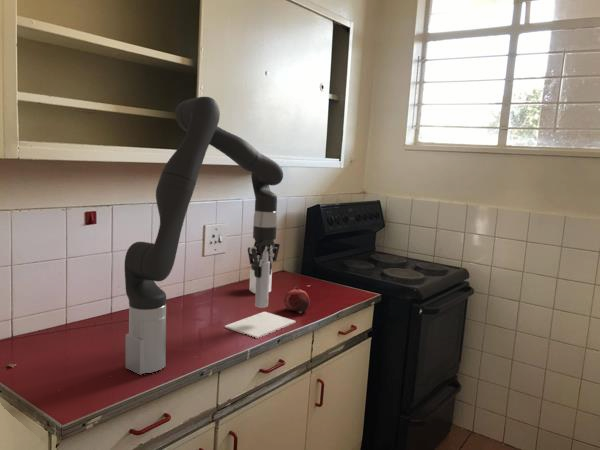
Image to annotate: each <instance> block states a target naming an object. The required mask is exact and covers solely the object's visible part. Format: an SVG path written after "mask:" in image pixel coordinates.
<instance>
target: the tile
mask: <svg viewBox="0 0 600 450" xmlns="http://www.w3.org/2000/svg"><path fill="white" fill-rule="evenodd" d="M295 323H297V321H296V320H294V319H291V318H287V317H284V316H281V315H277V314H274V313H271V312H267V311H262V312H259V313H256V314H253V315H252V316H248V317H245V318H242V319H240V320H237V321H234V322H232V323H228V324H226V325H224V328H226V329H228V330H231V331H234V332H237V333H240V334H243V335H245V334H247V335H246V336H248V335H249V337H251V336H252V338H254V337H255V339H257V338H258V339H260V338H262V336H263V337H265V336H268V335H269V333H270V334H271V333H272V334H273V333H274V332H276V330H277V331H279V330H281V328H282V329H283V328H286V327H288V326H291V325H293V324H295ZM259 337H260V338H259Z"/></svg>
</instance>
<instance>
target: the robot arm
mask: <svg viewBox="0 0 600 450" xmlns="http://www.w3.org/2000/svg"><path fill="white" fill-rule="evenodd" d="M174 113H175V120H176V122H177V125H178V126H179V127H180V128H181V129H182V130H183V131H185V132H186V134H185V136H184V138H183V140H182V142H181V144H180V145H179V146H178V148H177V149H176V151H175V152H173V154H172V155H171V157H170V158H169V159H168V161H167V162H166V163H165V165H164V167H163V169H162V172H161V174H160V177H159V179H158V182H157V186H156V189H155V199H156V205H157V210H158V215H159V227H158V231H157V236H156V239H155V241H154V243H152V242H147V241H135V242H133V243H132V244H131V245H130V246H129V247H128V249H127V251H126V253H125V258H124V283H125V294H126V296H127V298H128V315H129V316H128V333H126V334H125V369H126V368H127V369H129V370H131V371H133V372H135V373H137V374H143V373H151V372H154V371H158V370H161V369H162V368H164V367H165V368H166V355H167V354H166V353H167V352H166V349H167V348H166V347H167V346H166V344H167V343H166V341H167V293H166V292H165V291H163V289H162V288H160V287H159V286H158V285H157V283H156V282H162V281H164V280H166V279H167V278H168V277H169V275H170V274H171V273H172V270H173V268H174V264H175V261H176V256H177V251H178V247H179V242H180V237H181V233H182V229H183V226H184V223H185V219H186V214H187V212H188V208H189V206H190V202H191V200H192V197H193V193H194V190H195V188H196V184H197V180H198V178H199V174H200V170H201V168H202V165H203V162H204V159H205V156H206V152H207V151H208V148H209V146H212V147H214V148H215V149H216V150H218V151H219V152H221V153H222V154H224V155H225V156H226V157H228V158H229V159H230V160H232V161H233V162H234V163H235V164H237V165H238V166H239V167H240V168H242V169H244V170H245V171H247V172H249V173H251V184H252V188H253V193H254V197H255V201H254V213H253V227H252V229H253V231H252V238H253V239H254V244H253V246H251V247H250V246H249V247H248V248H247V254H248V259H249V264H250V265H251V264H252V265H254V266H255V270H254V275H255V277H258V278H260V277H261V271H262V267H261V265H262V261H263V260H264V258H265V254H266V251H268V261H270V274H269V275H271V269H272V265H273V263H274V262H277V260H278V256H279V255H278V254H279V249H280V246H281V245H280V243H277V242H275V240H276V239H277V229H278V228H277V225H278V224H277V223H278V216H277V207H278V205H277V204H278V196H277V194H276V193H274V192H272V190H271V188H270V186H277V185H279V184H281V182H282V181H283V179H284V170H283V168H282V167H281V166H280V164H278V163H277V162H276V161H274V160H273V159H271V158H270V157H268V156H266V155H265V154H263V153H260V152H259V151H258V150H257V149H256V148H255V147H254V146H253V145H252V144H250V143H249V142H248V141H247V140H245V139H243V138H242V137H239V136H238V135H235V134H233V133H231V132H229V131H227V130H225V129H222V128H221V127H220V126H218V125H219V123H220V114H221V111H220V107H219V104H218V102H217V101H216V100H215V99H214V98H212V97H210V96H199V97H194V98H189V99H185V100H183V101H181V102H180V103H179V104H177V107H176V108H175V112H174ZM267 247H269V248H267ZM259 255H260V256H261V257H259ZM258 261H259V262H258ZM165 368H164V369H165ZM127 369H126V370H127ZM129 370H128V371H129ZM131 371H130V372H131ZM161 371H162V370H161ZM133 372H132V373H133ZM135 373H134V374H135ZM137 374H136V375H137Z"/></svg>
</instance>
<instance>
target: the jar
mask: <svg viewBox="0 0 600 450" xmlns="http://www.w3.org/2000/svg"><path fill="white" fill-rule="evenodd" d="M250 265H251V268H250V270H249V291H250V293H253V294H255V293H256V277H255V275H254V270H255V266H254V265H252V264H250ZM272 276H273V270H272V268H271V275H269V293H271V292H272V280H273V279H272Z"/></svg>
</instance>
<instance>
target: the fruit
mask: <svg viewBox="0 0 600 450" xmlns="http://www.w3.org/2000/svg"><path fill="white" fill-rule="evenodd" d="M296 285H297V286H295V285H293V289H292V290H290V291H288V292H287V293H286V294H285V295H284V299H283V304H284V307H285V309H287V310H288V311H291V312H292V311H293V312H296V313H299V314H303V312H305V311H307V310H308V309H309V308H310V304H311V303H310V297H309V294H308V293H307V292H306V291H305V290H302V289H300V287H299V284H296Z"/></svg>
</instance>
